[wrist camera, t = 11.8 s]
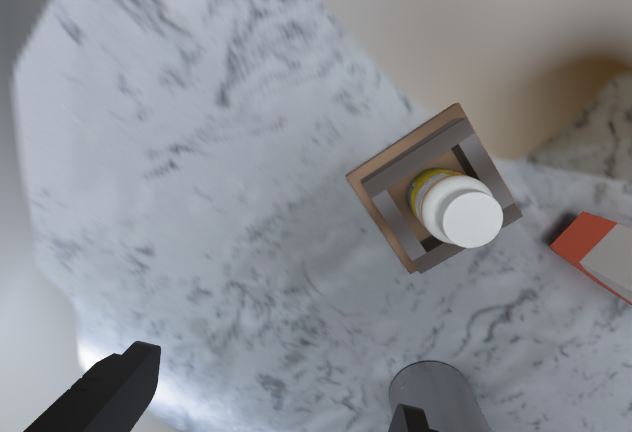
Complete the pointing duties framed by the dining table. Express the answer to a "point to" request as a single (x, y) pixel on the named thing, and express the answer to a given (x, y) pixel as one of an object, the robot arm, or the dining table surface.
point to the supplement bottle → (454, 207)
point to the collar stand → (409, 160)
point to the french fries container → (599, 252)
